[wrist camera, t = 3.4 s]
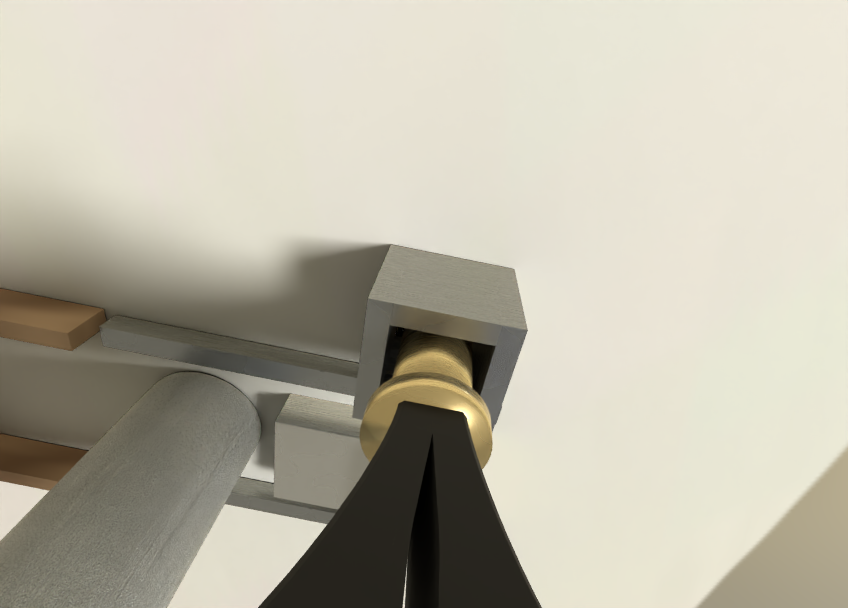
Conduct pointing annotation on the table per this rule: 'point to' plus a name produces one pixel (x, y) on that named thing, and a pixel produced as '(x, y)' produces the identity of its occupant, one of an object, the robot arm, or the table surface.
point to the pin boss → (442, 319)
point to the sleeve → (243, 361)
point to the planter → (134, 502)
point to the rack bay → (50, 328)
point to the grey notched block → (317, 452)
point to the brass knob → (429, 389)
